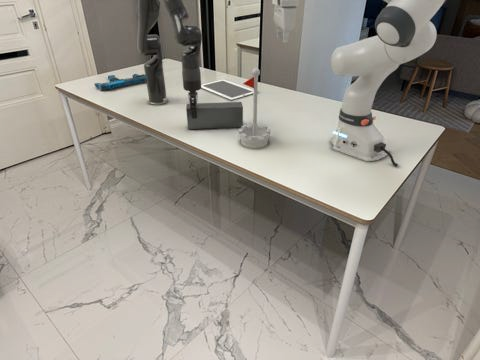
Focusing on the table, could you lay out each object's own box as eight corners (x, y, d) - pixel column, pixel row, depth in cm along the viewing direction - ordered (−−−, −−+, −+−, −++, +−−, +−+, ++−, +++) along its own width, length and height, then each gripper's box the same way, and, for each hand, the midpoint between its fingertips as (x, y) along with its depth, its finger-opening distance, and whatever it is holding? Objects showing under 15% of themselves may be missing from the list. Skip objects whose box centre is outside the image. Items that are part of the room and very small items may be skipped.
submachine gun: (139, 68, 225) (157, 74, 208) (140, 74, 227) (158, 80, 210) (87, 78, 206) (102, 86, 190) (88, 84, 208) (104, 92, 192)
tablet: (197, 86, 202) (197, 85, 202) (223, 79, 213) (223, 79, 213) (231, 100, 182) (231, 99, 181) (258, 92, 193) (258, 91, 193)
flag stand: (262, 133, 147) (264, 62, 131) (275, 146, 137) (280, 71, 121) (234, 138, 144) (233, 65, 127) (245, 151, 133) (246, 74, 117)
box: (241, 121, 158) (241, 101, 152) (242, 127, 153) (242, 106, 147) (188, 123, 155) (186, 103, 150) (188, 129, 150) (186, 108, 145)
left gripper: (183, 72, 147) (186, 109, 156) (181, 83, 135) (185, 122, 144) (200, 72, 147) (202, 109, 157) (200, 82, 135) (203, 121, 145)
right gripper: (270, -4, 129) (269, 34, 136) (281, 1, 112) (279, 45, 119) (287, -5, 129) (284, 34, 137) (300, 1, 112) (296, 45, 120)
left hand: (194, 115), depth 150 cm, fingers closed on box, 6 cm apart
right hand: (282, 39), depth 128 cm, fingers open, 8 cm apart
